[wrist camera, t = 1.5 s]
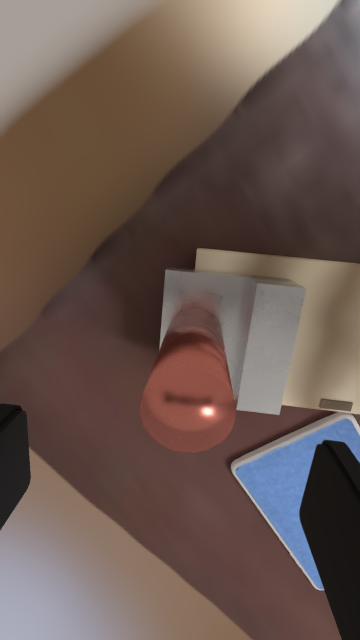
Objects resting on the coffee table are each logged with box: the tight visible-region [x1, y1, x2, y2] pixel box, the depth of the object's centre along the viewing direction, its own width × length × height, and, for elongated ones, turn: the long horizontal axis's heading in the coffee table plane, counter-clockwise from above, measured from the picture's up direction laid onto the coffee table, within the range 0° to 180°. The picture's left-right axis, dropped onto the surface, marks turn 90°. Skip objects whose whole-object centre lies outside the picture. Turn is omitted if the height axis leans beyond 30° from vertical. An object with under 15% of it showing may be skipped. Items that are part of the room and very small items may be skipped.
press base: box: [195, 248, 360, 414], centre depth 22 cm, size 23×12×7 cm, turn 85°
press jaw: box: [140, 267, 306, 453], centre depth 18 cm, size 9×9×12 cm
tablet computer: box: [231, 412, 360, 590], centre depth 30 cm, size 19×13×1 cm, turn 33°
